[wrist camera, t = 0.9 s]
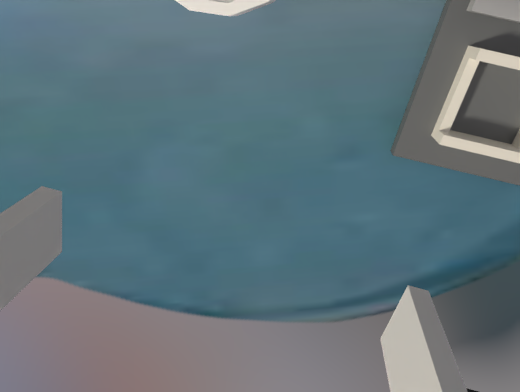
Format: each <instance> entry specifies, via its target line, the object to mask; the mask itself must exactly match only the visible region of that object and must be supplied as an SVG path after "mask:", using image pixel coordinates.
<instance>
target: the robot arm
mask: <svg viewBox="0 0 520 392" xmlns="http://www.w3.org/2000/svg"><path fill="white" fill-rule="evenodd" d="M61 252H62V192H61V191H58V190H54V189H50V188H47V187H43V186H42V187H40V188H39V189H37V190H35V191H34V192H32V193H31V194H29V195H28V196H26V197H25V198H23V199H22V200H20V201H19V202H17V203H16V204H14V205H13V206H11V207H10V208H8V209H7V210H5V211H4V212H2V213H0V311H1V310H2V309H3V308H4V307H5V306H6V305H7V304H8V303H9V302H10V301H11V300H12V299H13V298H14V297H15V296H16V295H17V294H18V293H19V292H20V291H21V290H22V289H23V288H25V287H26V286H27V285H28V284H29V283H30V282H31V281H32V280H33V279H34V278H35V277H36V276H37V275H38V274H39V273H40V272H41V271H42V270H43V269H44V268H45V267H46V266H47V265H48V264H49V263H51V262H52V261H53V260H54V259H55V258H56V257H57V256H58V255H59V254H60V253H61ZM381 344H382V349H383V355H384V360H385V365H386V371H387V376H388V381H389V386H390V392H478V391H474V390H470V389H467V388H466V386H465V384H464V381H463V379H462V376H461V374H460V371H459V369H458V366H457V363H456V361H455V358H454V356H453V353H452V351H451V348H450V345H449V343H448V340H447V337H446V335H445V332H444V330H443V327H442V325H441V322H440V320H439V317H438V314H437V312H436V309H435V307H434V304H433V302H432V299H431V296H430V294H429V291H427V290H423V289H419V288H416V287H412V286H407V288H406V290H405V292H404V294H403V296H402V298H401V300H400V302H399V304H398V306H397V308H396V310H395V311H394V314H393V315H392V317H391V319H390V321H389V323H388V325H387V327H386V329H385V331H384V333H383V335H382V337H381Z"/></svg>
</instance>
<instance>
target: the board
mask: <svg viewBox="0 0 520 392" xmlns="http://www.w3.org/2000/svg"><path fill="white" fill-rule="evenodd" d="M391 153H392V154H393V155H394V156H398V157H403V158H407V159H411V160H415V161H419V162H424V163H428V164H432V165H436V166H440V167H445V168H449V169H453V170H457V171H461V172H466V173H470V174H474V175H478V176H482V177H487V178H491V179H495V180H499V181H503V182H508V183H512V184H516V185H520V0H447V1H446V3H445V6H444V9H443V11H442V14H441V17H440V19H439V22H438V25H437V27H436V30H435V33H434V36H433V38H432V41H431V44H430V46H429V49H428V52H427V54H426V57H425V60H424V62H423V65H422V68H421V70H420V73H419V76H418V78H417V81H416V84H415V87H414V89H413V92H412V95H411V97H410V100H409V103H408V105H407V108H406V111H405V113H404V116H403V119H402V121H401V124H400V127H399V129H398V132H397V135H396V138H395V140H394V143H393V146H392V148H391Z"/></svg>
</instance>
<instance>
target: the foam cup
mask: <svg viewBox="0 0 520 392" xmlns="http://www.w3.org/2000/svg"><path fill="white" fill-rule="evenodd" d="M176 1H177V2H178V3H180V4H181V5H183V6H184V7H185V8H187V9H188V10H191V11H198V12H204V13H211V14H218V15H225V16H238V15H241V14H244V13H246V12H249V11H252V10H254V9H257V8H260V7H263V6H265V5H268V4H271V3H273V2H274V1H275V0H176Z"/></svg>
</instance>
